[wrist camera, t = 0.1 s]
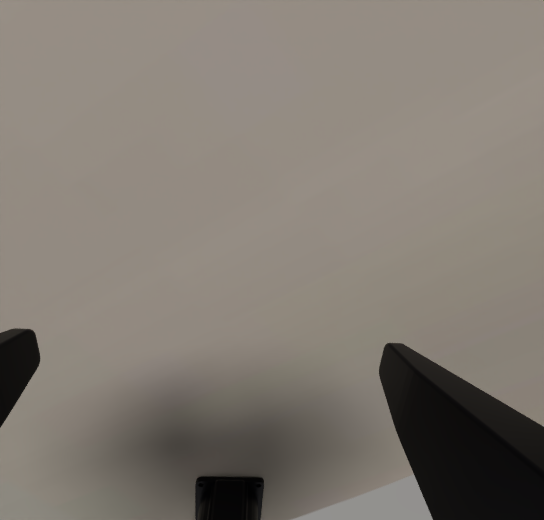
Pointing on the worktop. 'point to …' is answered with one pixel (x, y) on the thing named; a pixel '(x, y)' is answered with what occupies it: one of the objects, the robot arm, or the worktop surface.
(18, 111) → the worktop surface
